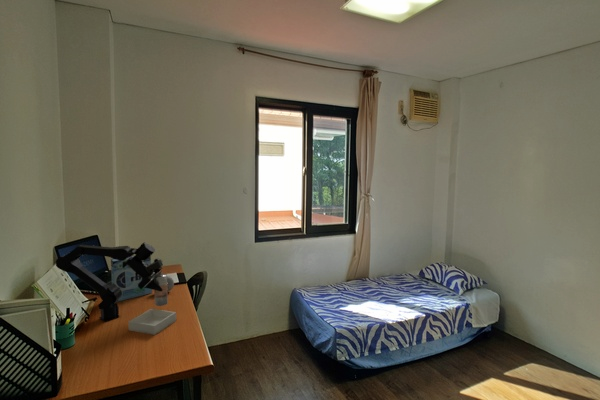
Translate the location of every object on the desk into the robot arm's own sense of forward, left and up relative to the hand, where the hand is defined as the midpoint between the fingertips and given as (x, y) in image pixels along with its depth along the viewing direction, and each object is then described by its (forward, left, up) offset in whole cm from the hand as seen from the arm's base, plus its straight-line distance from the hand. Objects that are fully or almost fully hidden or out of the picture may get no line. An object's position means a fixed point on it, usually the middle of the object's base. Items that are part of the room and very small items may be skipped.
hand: (163, 288), depth 152 cm
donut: (+17, +27, -14) cm, 34 cm away
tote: (-9, -5, -13) cm, 17 cm away
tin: (-1, +1, -8) cm, 8 cm away
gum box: (+3, +36, -14) cm, 38 cm away
